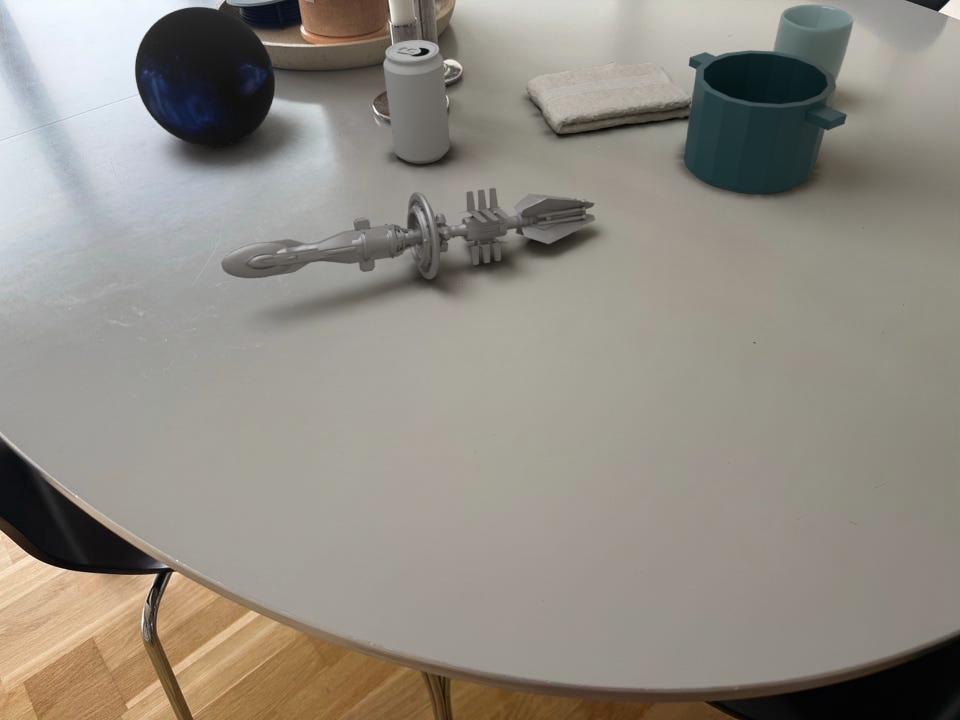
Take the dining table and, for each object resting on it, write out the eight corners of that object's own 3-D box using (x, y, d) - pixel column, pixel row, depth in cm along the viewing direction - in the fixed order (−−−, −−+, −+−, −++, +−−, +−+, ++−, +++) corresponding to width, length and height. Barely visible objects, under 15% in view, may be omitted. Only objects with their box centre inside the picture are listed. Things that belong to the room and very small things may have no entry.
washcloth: (697, 117, 97) (701, 92, 95) (554, 140, 95) (554, 115, 92) (657, 77, 106) (659, 54, 104) (524, 98, 103) (524, 74, 101)
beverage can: (437, 170, 90) (428, 64, 82) (385, 162, 92) (371, 58, 84) (458, 144, 95) (451, 40, 87) (408, 136, 97) (397, 35, 89)
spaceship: (209, 213, 71) (215, 226, 64) (571, 165, 82) (611, 172, 74) (226, 301, 73) (234, 323, 66) (575, 244, 84) (613, 257, 77)
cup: (805, 81, 103) (825, 0, 97) (844, 107, 98) (868, 22, 91) (751, 92, 102) (768, 10, 95) (788, 118, 96) (808, 33, 89)
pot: (729, 112, 98) (743, 33, 92) (861, 178, 86) (888, 91, 79) (642, 145, 93) (650, 63, 86) (769, 219, 81) (790, 131, 74)
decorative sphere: (143, 173, 93) (96, 41, 82) (176, 113, 104) (138, -10, 94) (276, 167, 92) (244, 33, 82) (294, 108, 104) (269, -16, 93)
